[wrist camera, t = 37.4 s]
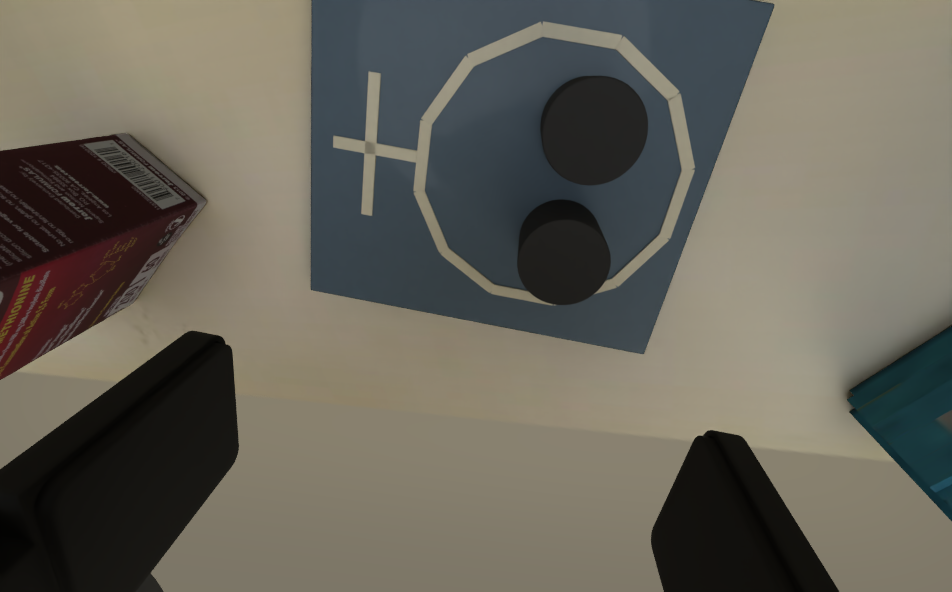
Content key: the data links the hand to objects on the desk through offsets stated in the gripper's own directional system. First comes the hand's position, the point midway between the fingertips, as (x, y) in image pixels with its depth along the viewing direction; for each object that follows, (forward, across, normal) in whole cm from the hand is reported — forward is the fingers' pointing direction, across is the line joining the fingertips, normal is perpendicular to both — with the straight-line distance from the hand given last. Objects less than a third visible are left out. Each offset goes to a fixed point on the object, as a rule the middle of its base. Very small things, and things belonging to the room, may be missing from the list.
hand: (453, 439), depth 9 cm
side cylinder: (+13, -3, -1) cm, 14 cm away
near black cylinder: (+13, -3, -6) cm, 15 cm away
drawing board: (+14, 0, -3) cm, 14 cm away
